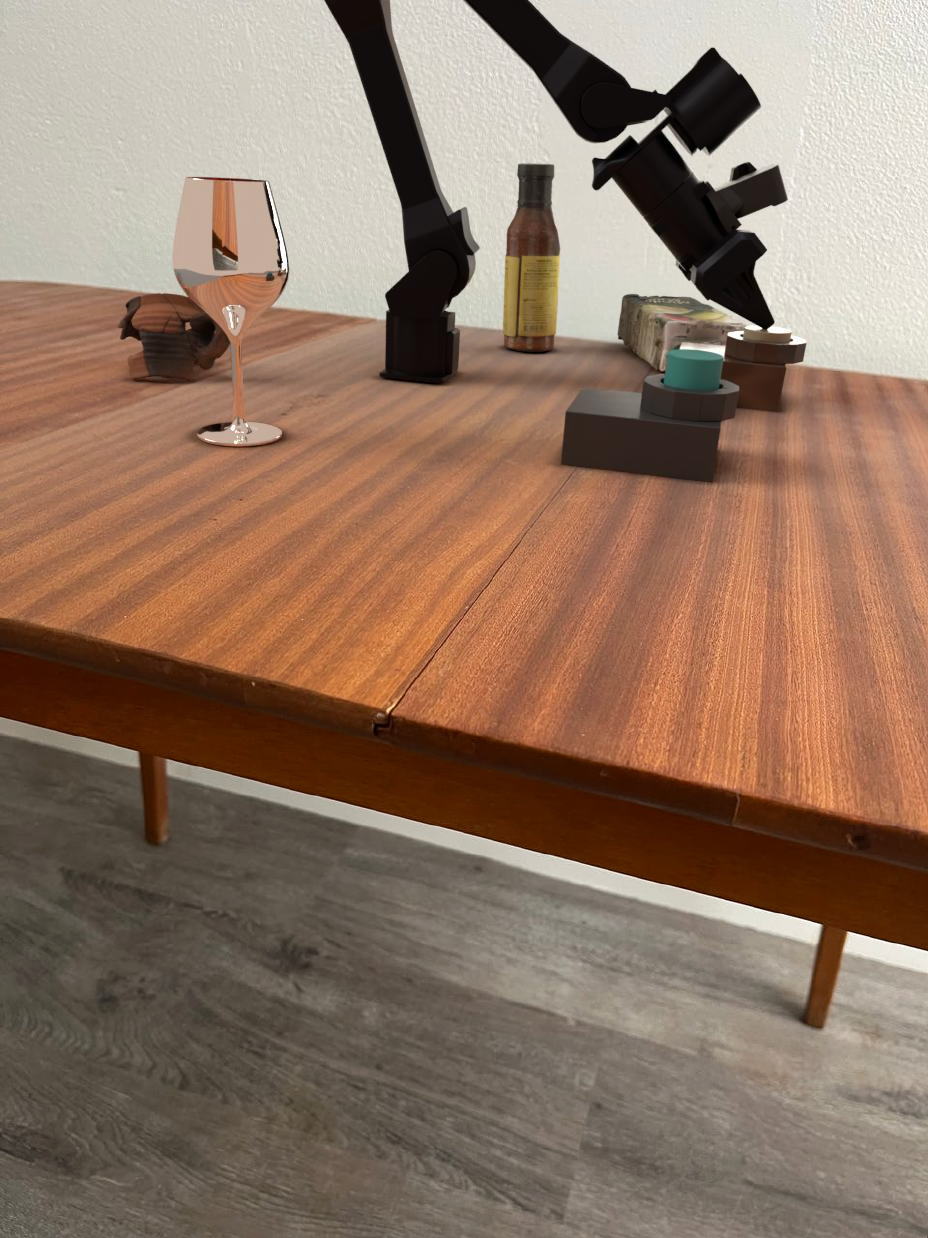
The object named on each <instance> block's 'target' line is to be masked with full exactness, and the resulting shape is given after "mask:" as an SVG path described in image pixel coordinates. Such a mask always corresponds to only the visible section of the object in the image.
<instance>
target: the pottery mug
mask: <svg viewBox="0 0 928 1238" xmlns="http://www.w3.org/2000/svg"><path fill="white" fill-rule="evenodd" d="M125 308H126V313H125V315H124V316H123V317H122V318H121V319H120V321H119V322H118V323H119V324H118V325H117V328H118V329H121V333H120V335H119V339H120V340H121V341H123V340H126V339H127V338H133V339H135V340H137V341H138V342H141V345H142V350H140V351H139V352H137V353H134V354H131V355H128V356H127V360H126V361H127V362H126V363H127V365H128V368H129V369H128V370H129V374H130V379H131V380H134V381H135V380H140V379H146V378H151V377H152V378H153V377H156V378H157V377H158V378H159V377H160V378H162V379H164V378H165V379H178V380H183V381H184V380H185V381H189V382H190V381H193V378H194V377H193V375H194V367H195V365H197V364H198V365H199V368H200V369H202V370H203V371H208V370H210V369H212V368H213V367H214V363H215V361H216V360H218V359H220V358H221V357H222V356H223V355H225V352H227V350H228V348H229V347H230V341H229V339H228V337H227V335H226V334H225V332H224V331H223V330H222V329H221V327H220V326H219V325H218V324H217V323H216V322H215V321H214V320H212V319H211V318H210V317H209V316H208V315H207V314H206V313H205V312H203V311H202V310H201V309H200V308H199V307H198V306H197V305H196V304H195V303H194V302H193V301H192V300H191V299H190V298H189V297H188V296H187V295H182V294H176V293H168V292H166V293H165V292H164V293H160V292H158V293H147V294H144V295H138V296H135V297H132V298H131V299H129V300H128V301H127V302H126V303H125ZM187 323H188V324H189V326H190V328H188V329H187Z"/></svg>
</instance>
